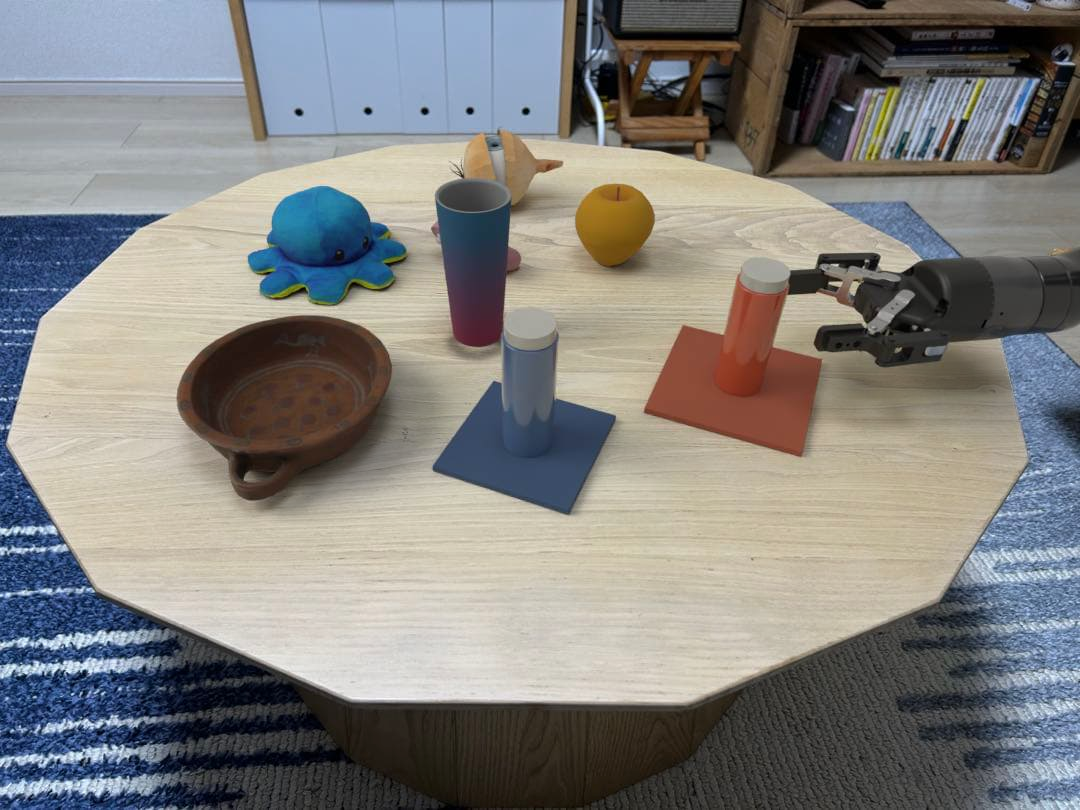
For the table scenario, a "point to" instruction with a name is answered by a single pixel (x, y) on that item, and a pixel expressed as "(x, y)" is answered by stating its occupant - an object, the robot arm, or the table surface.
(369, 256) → the plush toy
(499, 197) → the cup
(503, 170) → the sculpture
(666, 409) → the terracotta mat
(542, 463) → the blue mat
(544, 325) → the blue shaker
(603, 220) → the apple
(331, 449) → the dish
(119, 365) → the table surface
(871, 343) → the robot arm
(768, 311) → the terracotta shaker
